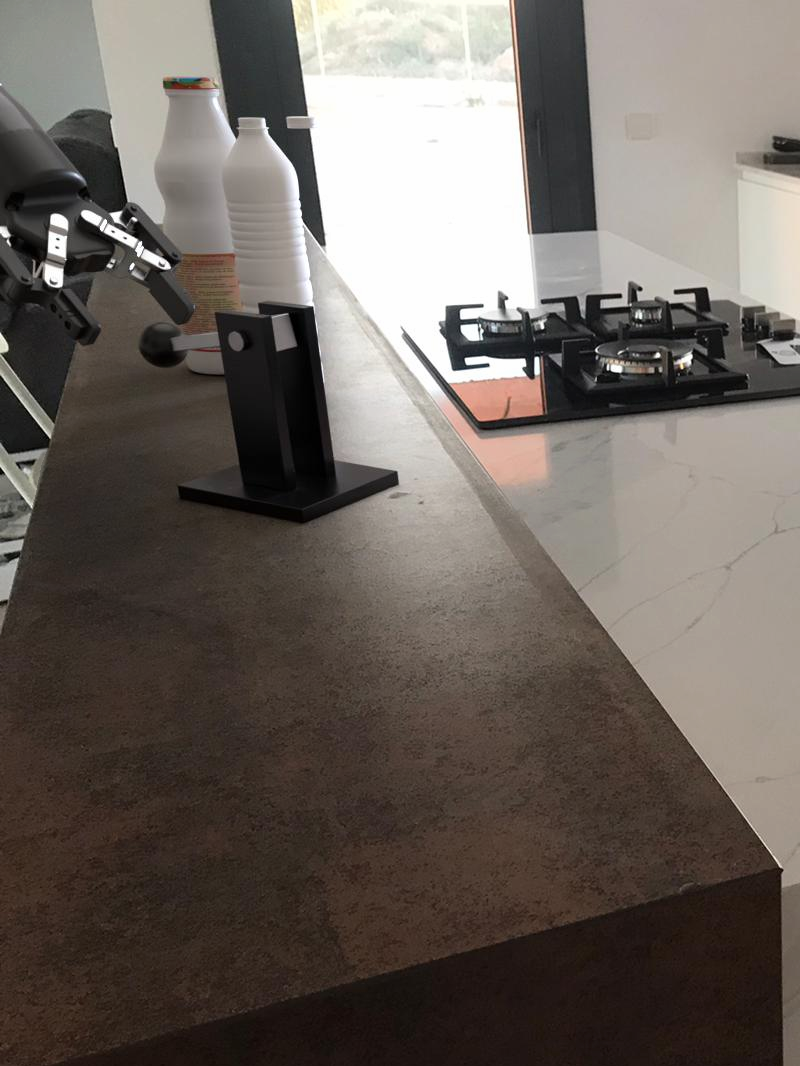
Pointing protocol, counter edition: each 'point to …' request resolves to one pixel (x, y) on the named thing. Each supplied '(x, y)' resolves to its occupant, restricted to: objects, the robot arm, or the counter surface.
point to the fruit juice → (198, 207)
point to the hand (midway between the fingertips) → (142, 327)
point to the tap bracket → (280, 425)
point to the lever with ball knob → (197, 341)
